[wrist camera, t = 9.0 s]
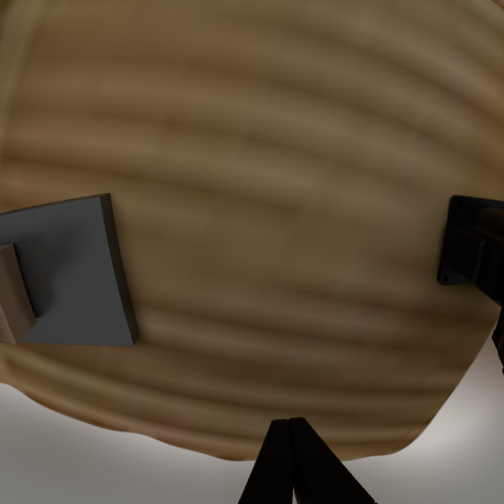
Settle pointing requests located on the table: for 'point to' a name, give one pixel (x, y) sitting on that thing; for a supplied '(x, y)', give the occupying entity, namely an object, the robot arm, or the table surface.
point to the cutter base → (72, 272)
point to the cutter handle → (13, 299)
